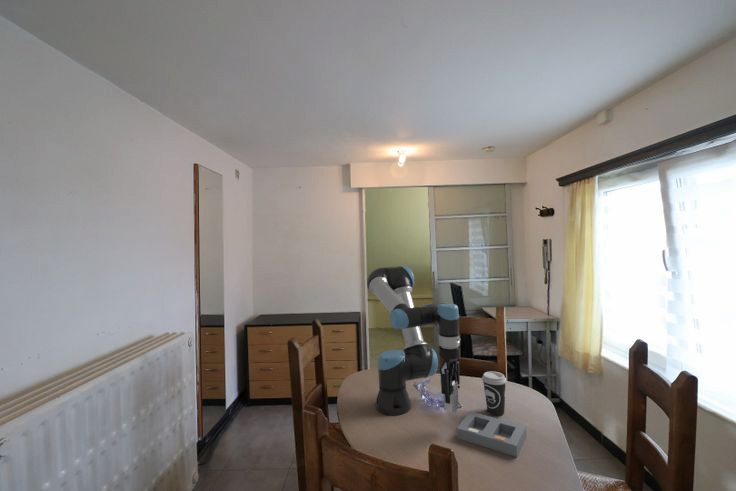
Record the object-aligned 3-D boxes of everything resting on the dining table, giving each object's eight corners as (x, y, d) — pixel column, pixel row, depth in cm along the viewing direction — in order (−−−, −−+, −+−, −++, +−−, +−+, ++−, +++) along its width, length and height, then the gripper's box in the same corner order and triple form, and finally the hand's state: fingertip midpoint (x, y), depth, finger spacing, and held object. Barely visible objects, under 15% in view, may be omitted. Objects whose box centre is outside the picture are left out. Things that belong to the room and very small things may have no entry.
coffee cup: (510, 418, 130) (508, 380, 130) (485, 417, 132) (483, 379, 132) (505, 406, 139) (503, 371, 139) (481, 405, 141) (480, 370, 141)
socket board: (457, 438, 118) (456, 427, 118) (471, 420, 129) (470, 411, 129) (517, 457, 106) (516, 445, 106) (526, 436, 117) (526, 425, 117)
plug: (444, 409, 123) (443, 381, 123) (448, 405, 127) (447, 377, 126) (454, 412, 121) (453, 383, 121) (458, 408, 124) (457, 379, 124)
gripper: (449, 354, 114) (452, 421, 115) (467, 341, 128) (469, 401, 128) (429, 350, 119) (432, 415, 119) (449, 338, 132) (451, 396, 133)
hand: (451, 408), depth 124 cm, fingers closed on plug, 4 cm apart
